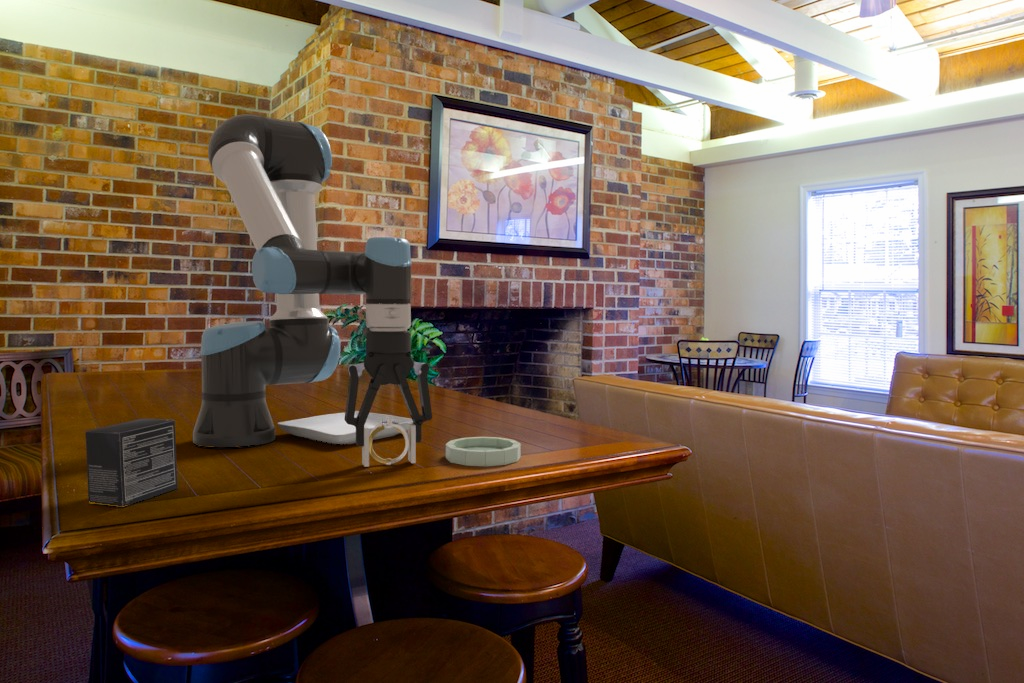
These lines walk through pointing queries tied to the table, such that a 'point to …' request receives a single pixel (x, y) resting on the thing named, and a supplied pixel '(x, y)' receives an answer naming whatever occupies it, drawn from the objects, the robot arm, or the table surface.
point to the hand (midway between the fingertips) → (388, 463)
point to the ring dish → (483, 451)
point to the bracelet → (386, 424)
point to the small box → (131, 461)
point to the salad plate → (339, 427)
